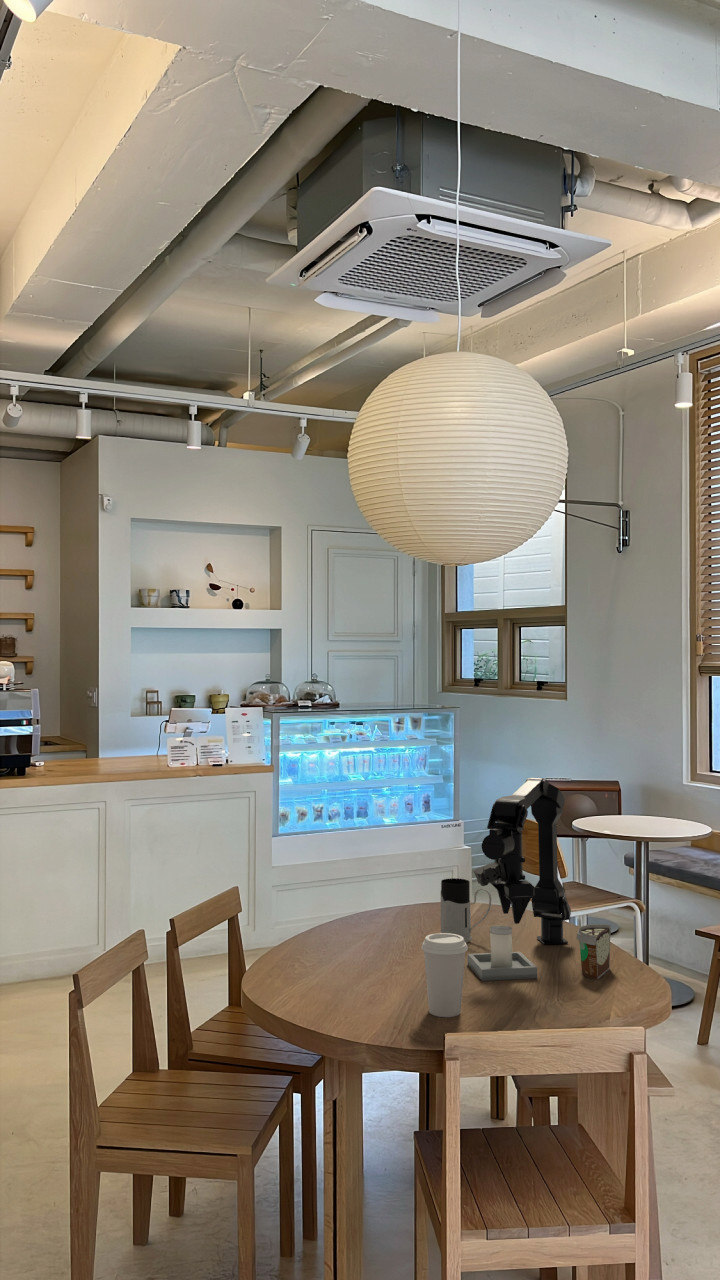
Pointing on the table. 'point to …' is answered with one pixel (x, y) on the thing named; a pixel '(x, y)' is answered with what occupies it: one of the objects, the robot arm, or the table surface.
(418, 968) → the table surface
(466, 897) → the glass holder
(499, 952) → the cylinder
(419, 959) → the table surface
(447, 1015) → the coffee cup
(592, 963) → the food container
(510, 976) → the tray
